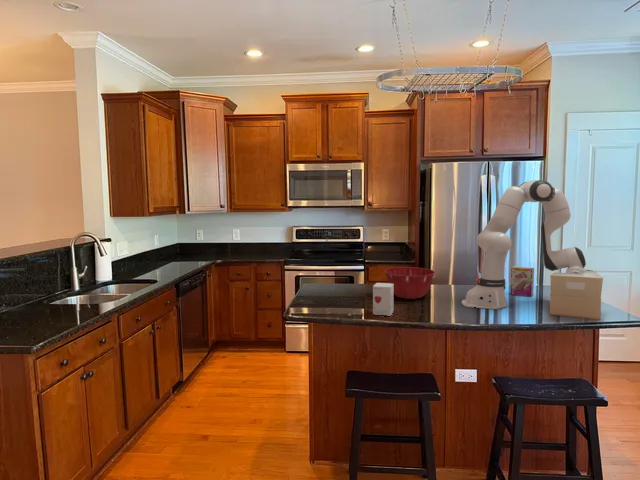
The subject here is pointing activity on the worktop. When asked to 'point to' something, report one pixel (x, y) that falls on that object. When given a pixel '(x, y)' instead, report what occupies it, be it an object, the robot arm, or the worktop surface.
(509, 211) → the robot arm
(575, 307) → the carton
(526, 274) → the candy bar box
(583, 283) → the carton flap
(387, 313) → the supplement box
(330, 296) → the worktop surface
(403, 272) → the mixing bowl
